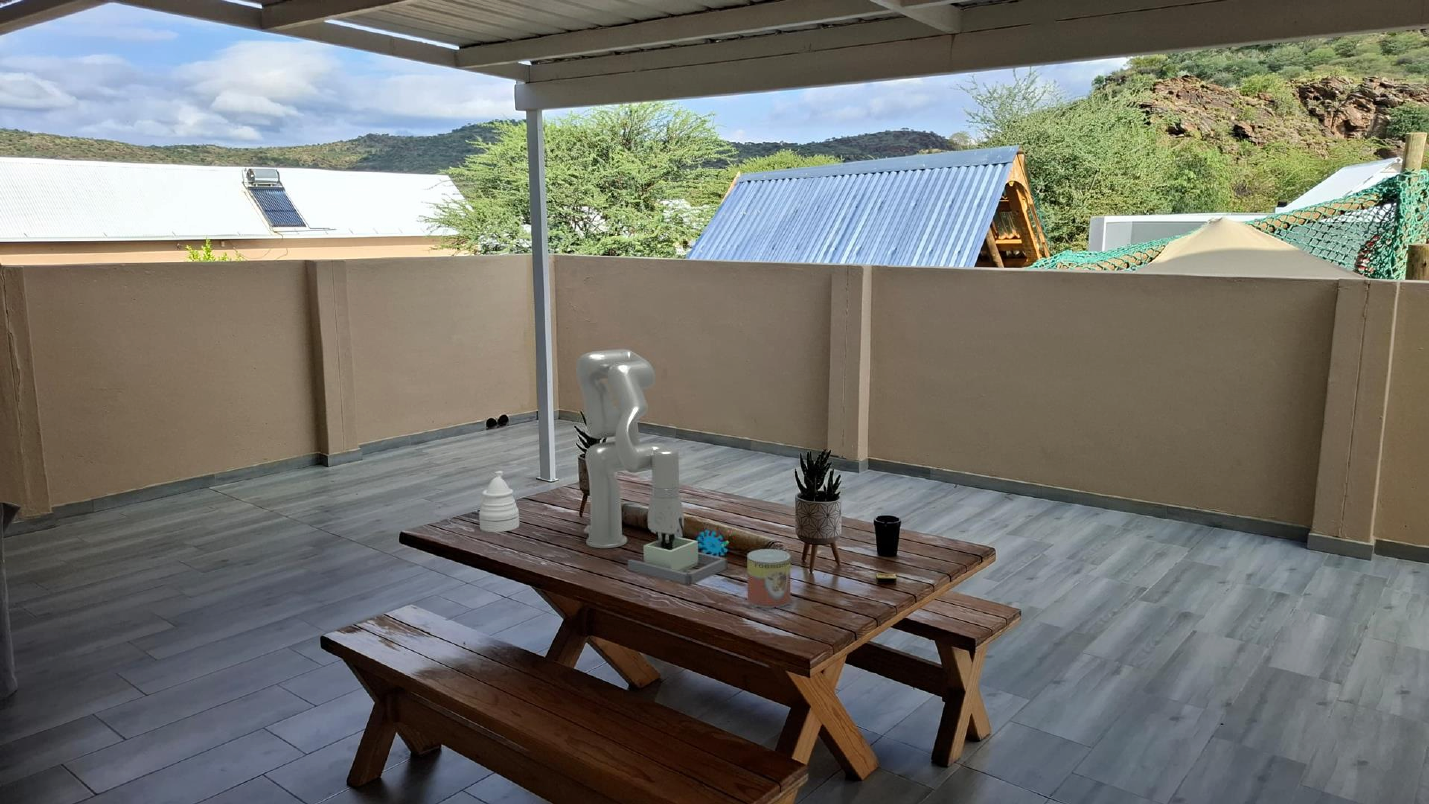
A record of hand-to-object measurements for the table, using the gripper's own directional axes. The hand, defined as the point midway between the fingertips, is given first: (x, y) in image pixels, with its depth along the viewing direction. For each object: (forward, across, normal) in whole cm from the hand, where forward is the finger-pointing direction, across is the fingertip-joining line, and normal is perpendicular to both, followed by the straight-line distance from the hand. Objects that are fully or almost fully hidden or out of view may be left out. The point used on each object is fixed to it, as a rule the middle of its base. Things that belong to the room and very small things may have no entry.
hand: (666, 554), depth 278 cm
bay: (+4, +4, 0) cm, 6 cm away
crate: (+3, +2, 0) cm, 4 cm away
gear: (+5, +4, +17) cm, 18 cm away
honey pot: (+5, -74, +2) cm, 74 cm away
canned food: (+5, +37, -3) cm, 37 cm away
